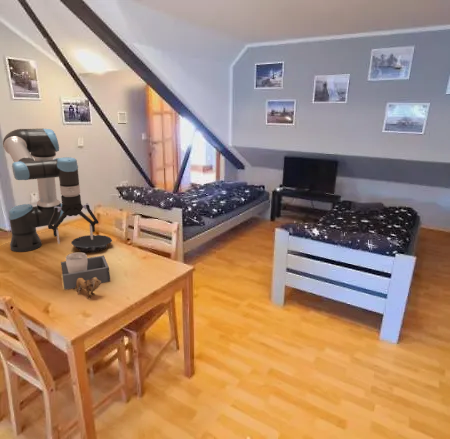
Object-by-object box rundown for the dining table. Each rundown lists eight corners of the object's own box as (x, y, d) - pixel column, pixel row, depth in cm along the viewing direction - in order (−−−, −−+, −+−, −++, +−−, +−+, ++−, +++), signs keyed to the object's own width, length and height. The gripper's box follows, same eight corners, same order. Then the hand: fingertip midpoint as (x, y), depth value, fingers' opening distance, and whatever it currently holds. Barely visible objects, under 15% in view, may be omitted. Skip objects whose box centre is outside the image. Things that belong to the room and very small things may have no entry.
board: (62, 248, 187) (62, 240, 186) (96, 239, 205) (96, 231, 203) (86, 259, 176) (86, 250, 174) (120, 248, 193) (120, 240, 192)
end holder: (61, 275, 158) (59, 262, 156) (105, 268, 167) (103, 255, 165) (62, 290, 146) (61, 275, 144) (110, 281, 155) (109, 267, 153)
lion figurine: (104, 294, 144) (102, 276, 141) (95, 301, 139) (93, 281, 137) (77, 287, 149) (75, 269, 146) (68, 293, 144) (65, 274, 141)
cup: (81, 285, 150) (79, 261, 147) (63, 283, 152) (60, 259, 148) (93, 276, 159) (91, 253, 155) (76, 274, 160) (73, 251, 157)
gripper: (37, 199, 134) (44, 248, 141) (102, 194, 145) (106, 239, 152) (37, 194, 140) (44, 241, 147) (100, 190, 151) (103, 234, 158)
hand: (75, 240), depth 150 cm, fingers open, 13 cm apart
